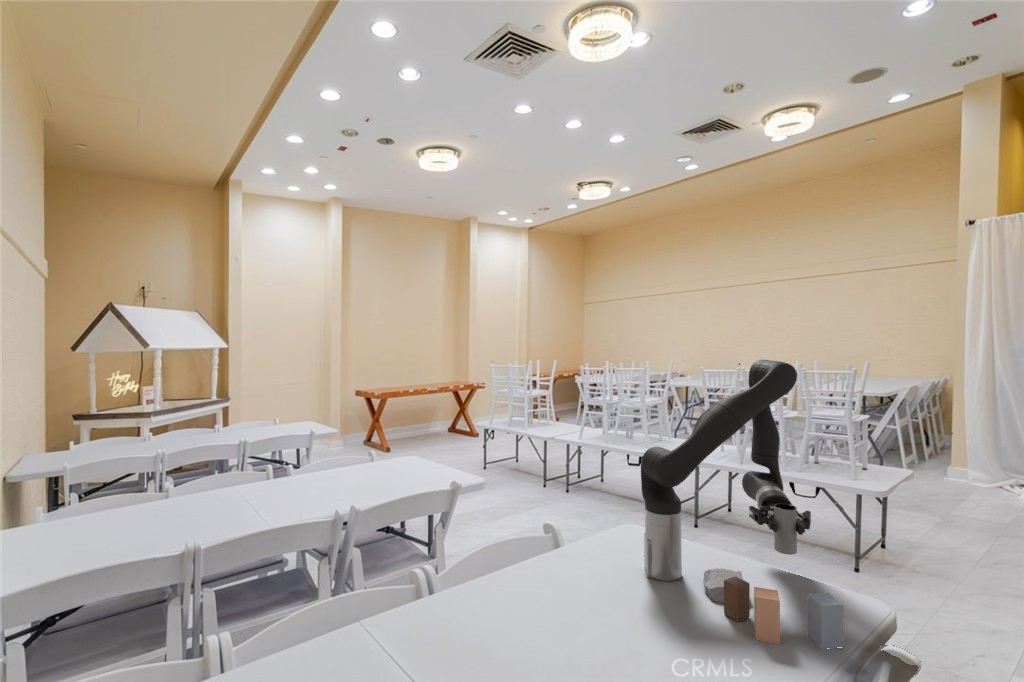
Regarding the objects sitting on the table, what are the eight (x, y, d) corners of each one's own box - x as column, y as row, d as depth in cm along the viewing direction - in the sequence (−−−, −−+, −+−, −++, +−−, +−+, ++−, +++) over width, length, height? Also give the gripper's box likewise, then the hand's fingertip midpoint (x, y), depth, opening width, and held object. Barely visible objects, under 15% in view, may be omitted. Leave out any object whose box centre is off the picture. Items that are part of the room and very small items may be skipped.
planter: (794, 547, 117) (794, 503, 117) (798, 556, 113) (798, 510, 113) (773, 545, 119) (772, 502, 119) (776, 553, 115) (776, 508, 114)
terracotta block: (755, 639, 105) (755, 596, 105) (754, 627, 109) (754, 586, 109) (780, 644, 103) (779, 600, 103) (777, 632, 107) (777, 590, 107)
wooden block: (738, 623, 111) (738, 587, 111) (723, 614, 115) (723, 579, 114) (750, 618, 113) (750, 582, 113) (735, 609, 116) (735, 575, 116)
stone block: (710, 609, 120) (754, 605, 118) (705, 589, 120) (749, 584, 118) (702, 587, 132) (742, 582, 130) (698, 568, 132) (737, 563, 130)
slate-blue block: (821, 649, 101) (821, 605, 101) (807, 636, 106) (807, 593, 106) (843, 648, 102) (843, 604, 101) (828, 635, 106) (828, 593, 106)
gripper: (743, 487, 132) (753, 509, 115) (804, 491, 127) (824, 515, 111) (743, 515, 132) (753, 542, 115) (804, 521, 127) (824, 549, 111)
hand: (788, 529), depth 113 cm, fingers closed on planter, 4 cm apart
